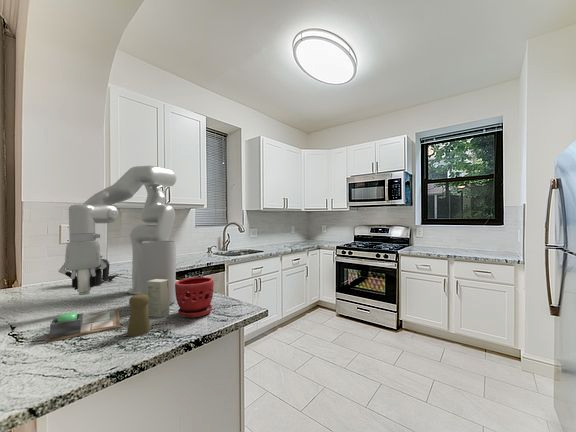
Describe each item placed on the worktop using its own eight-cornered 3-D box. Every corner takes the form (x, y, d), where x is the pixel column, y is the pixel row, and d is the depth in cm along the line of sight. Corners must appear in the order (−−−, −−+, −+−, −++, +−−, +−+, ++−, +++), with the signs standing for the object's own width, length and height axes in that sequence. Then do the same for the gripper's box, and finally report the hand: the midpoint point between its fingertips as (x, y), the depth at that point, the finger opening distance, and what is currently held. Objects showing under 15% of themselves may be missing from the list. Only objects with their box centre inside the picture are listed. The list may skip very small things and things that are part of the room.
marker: (91, 291, 98) (90, 264, 98) (91, 294, 95) (90, 266, 95) (77, 293, 96) (76, 265, 96) (76, 296, 93) (75, 267, 92)
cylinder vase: (132, 306, 101) (134, 242, 101) (157, 298, 113) (158, 240, 113) (158, 310, 97) (159, 243, 98) (181, 300, 109) (182, 240, 110)
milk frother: (76, 287, 132) (76, 257, 132) (93, 280, 147) (93, 254, 148) (107, 285, 135) (108, 257, 135) (120, 279, 150) (121, 253, 151)
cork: (133, 328, 80) (133, 292, 80) (153, 327, 81) (154, 291, 81) (122, 336, 74) (123, 298, 74) (144, 336, 75) (145, 297, 75)
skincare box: (169, 313, 93) (170, 279, 93) (160, 317, 89) (160, 282, 89) (156, 311, 95) (156, 278, 95) (146, 315, 91) (146, 280, 91)
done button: (77, 319, 79) (77, 311, 79) (76, 324, 76) (76, 315, 76) (58, 322, 77) (58, 314, 77) (56, 327, 73) (56, 318, 73)
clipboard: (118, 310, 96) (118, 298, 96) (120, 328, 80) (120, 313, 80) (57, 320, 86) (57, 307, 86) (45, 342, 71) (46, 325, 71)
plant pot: (212, 306, 102) (212, 275, 102) (214, 317, 89) (214, 282, 89) (176, 309, 97) (176, 277, 98) (172, 322, 85) (173, 285, 85)
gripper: (110, 236, 103) (111, 281, 103) (54, 239, 93) (55, 289, 94) (110, 237, 97) (111, 286, 97) (50, 240, 87) (51, 295, 88)
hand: (84, 287), depth 95 cm, fingers closed on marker, 4 cm apart
